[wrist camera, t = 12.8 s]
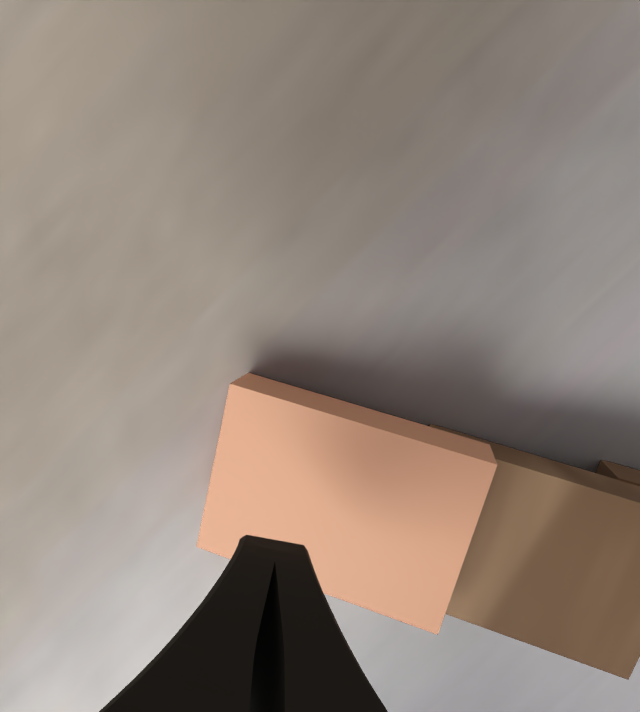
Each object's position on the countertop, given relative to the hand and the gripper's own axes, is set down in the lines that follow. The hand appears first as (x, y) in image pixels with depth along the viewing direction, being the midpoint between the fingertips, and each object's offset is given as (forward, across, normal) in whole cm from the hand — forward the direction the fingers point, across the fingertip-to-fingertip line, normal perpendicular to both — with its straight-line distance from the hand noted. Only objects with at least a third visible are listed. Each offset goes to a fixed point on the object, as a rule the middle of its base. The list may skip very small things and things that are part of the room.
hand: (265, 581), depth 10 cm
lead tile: (+4, +2, 0) cm, 5 cm away
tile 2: (+4, -4, 0) cm, 6 cm away
